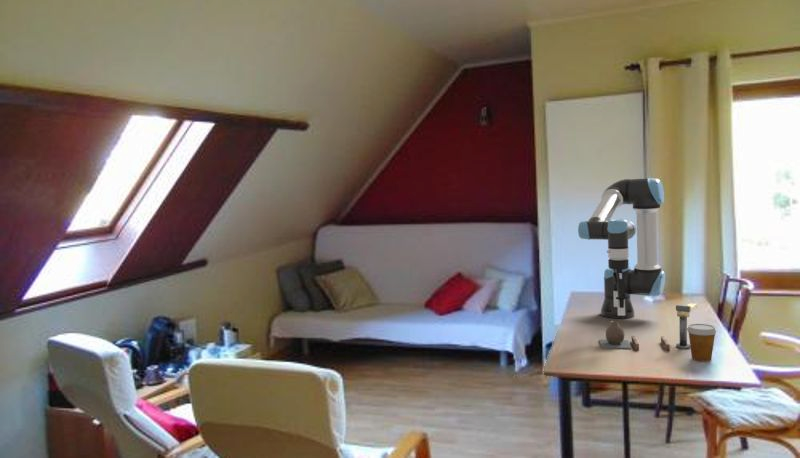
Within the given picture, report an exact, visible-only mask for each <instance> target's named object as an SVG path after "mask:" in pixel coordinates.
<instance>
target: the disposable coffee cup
mask: <svg viewBox="0 0 800 458" xmlns="http://www.w3.org/2000/svg"><path fill="white" fill-rule="evenodd" d="M687 333H688V339H689V345H690V352H691V353H690V354H691V359H692V360H694V361H697V362H702V361H703V362H706V361H707V362H710V360H711V361H712V357H713V351H714V350H713V349H714V344H715V335H716V333H717V330H716V327H715V326H714V325H712V324H709V323H708V324H707V323H691V324H690V323H689V324H688V325H687Z"/></svg>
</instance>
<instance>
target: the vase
mask: <svg viewBox="0 0 800 458" xmlns="http://www.w3.org/2000/svg"><path fill="white" fill-rule="evenodd" d="M605 338H606V339H605V340H607V341H608V342H609V343H610V344H613V345H618V344H621V343H622V341H623V340H625V332H624V330H623V328H622V326H621V325H620V324H619V322H618V321H615V320H613V321H611V322H610V324H609V325H608V326H607V327H606V330H605Z"/></svg>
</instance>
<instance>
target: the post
mask: <svg viewBox="0 0 800 458" xmlns="http://www.w3.org/2000/svg"><path fill="white" fill-rule="evenodd" d="M687 328H688V317H679V343H676V344H675V348H677V349H681V350H689V349H691V347H690V343H689V344H688V330H687Z"/></svg>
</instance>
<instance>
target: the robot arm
mask: <svg viewBox="0 0 800 458" xmlns="http://www.w3.org/2000/svg"><path fill="white" fill-rule="evenodd" d="M664 203H665V191H664V185H663V183H662V182H661V179H659V178H652V177H651V178H650V177H647V178H645V177H644V178H626V179H625V178H624V179H620V180H618V181H615V182H614V183H612V184H610V185H609V186H608V187H607V188H606V189H604V191H603V192H602V194H601V201H599V203H598V205H597V206H596V208H595V209H594V211H593V212H592V215H591V216H590V218H589V219H588V220H585V221H580V222H579V224H578V227H577V232H578V237H579V238H580V239H582V240H588V241H589V240H602V241H603V240H606V241H607V249H608V250H606V253H607V254H608V258H609V259H608V268H606V269H605V270H604V273H603V274H604V275H603V276H604V277H603V280H604V281H603V283H604V284H603V285H604V286H603V287H604V290H603V291H604V299H603V302H602V305H601V309H600V316H602V317H604V318H605V317H606V318H612V319H629V318H633V317H635V309H634V306H633V303H632V300H631V295H635V296H648V297H659V296H661V295H662V293H663V291H664V289H665V283H666V272H665V271H664V270H662V266H661V265H660V264H659V263H658V218H657V217H658V211H659V210H660V209H661V205H663V204H664ZM622 205H632V209H633V210H634V211H635V213H636V214H635V215H636V225H635V223H633V221H630V220H627V219H623V218H615V219H614V218H613V219H611V218H612V217H613V215H614V214H615V212H616V211H617V209H618V208H619V207H621V206H622ZM635 235H636V250H637V251H636V253H637V255H636V257H637V258H636V259H637V260H636V261H637V263H636V264H634V265H633V269H631V266H629V264H630V263H629V259H628V258H629V255H630V254H629V240H630V239H632V238H633V237H634V236H635Z"/></svg>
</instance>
